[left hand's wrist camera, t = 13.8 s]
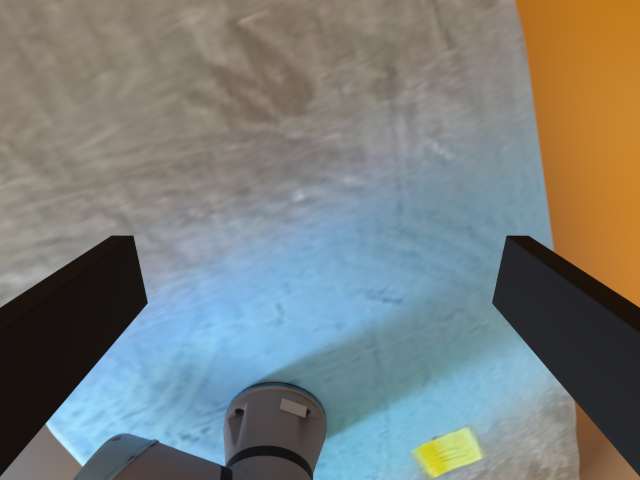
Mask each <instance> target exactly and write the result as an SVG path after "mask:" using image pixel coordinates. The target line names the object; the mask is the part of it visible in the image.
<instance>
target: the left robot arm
mask: <svg viewBox="0 0 640 480" xmlns="http://www.w3.org/2000/svg"><path fill="white" fill-rule="evenodd" d="M147 304H148V302H147V297H146V292H145V288H144V283H143V278H142V274H141V269H140V264H139V260H138V255H137V250H136V246H135V241H134V236H110V237H109V238H107V239H106V240H104V241H103V242H101V243H100V244H98V245H96V246H95V247H93V248H92V249H90V250H89V251H87V252H86V253H84V254H83V255H81V256H79V257H78V258H76V259H75V260H73V261H72V262H70V263H69V264H67V265H66V266H64V267H62V268H61V269H59V270H58V271H56V272H55V273H53V274H52V275H50V276H49V277H47V278H45V279H44V280H42V281H41V282H39V283H38V284H36V285H35V286H33V287H32V288H30V289H28V290H27V291H25V292H24V293H22V294H21V295H19V296H18V297H16V298H15V299H13V300H11V301H10V302H8V303H7V304H5V305H4V306H2V307H1V308H0V476H1V475H2V474H3V473H4V472H5V470H6V469H7V468H8V467H9V466H10V464H11V463H12V462H13V461H14V460H15V459H16V457H17V456H18V455H19V454H20V453H21V452H22V450H23V449H24V448H25V447H26V446H27V445H28V443H29V442H30V441H31V440H32V439H33V438H34V436H35V435H36V434H37V433H38V432H39V430H40V429H41V428H42V427H43V426H44V425H45V423H46V422H47V421H48V420H49V419H50V418H51V416H52V415H53V414H54V413H55V412H56V410H57V409H58V408H59V407H60V406H61V405H62V403H63V402H64V401H65V400H66V399H67V398H68V396H69V395H70V394H71V393H72V392H73V391H74V389H75V388H76V387H77V386H78V385H79V383H80V382H81V381H82V380H83V379H84V378H85V376H86V375H87V374H88V373H89V372H90V371H91V369H92V368H93V367H94V366H95V365H96V363H97V362H98V361H99V360H100V359H101V358H102V356H103V355H104V354H105V353H106V352H107V351H108V349H109V348H110V347H111V346H112V345H113V344H114V342H115V341H116V340H117V339H118V338H119V336H120V335H121V334H122V333H123V332H124V331H125V329H126V328H127V327H128V326H129V325H130V324H131V322H132V321H133V320H134V319H135V318H136V316H137V315H138V314H139V313H140V312H141V311H142V309H143V308H144V307H145V306H146V305H147ZM492 304H493V305H494V306H495V307H496V308H497V309H498V311H499V312H500V313H501V314H502V315H503V316H504V318H505V319H506V320H507V321H508V322H509V324H510V325H511V326H512V327H513V328H514V329H515V331H516V332H517V333H518V334H519V335H520V336H521V338H522V339H523V340H524V341H525V342H526V344H527V345H528V346H529V347H530V348H531V349H532V351H533V352H534V353H535V354H536V355H537V356H538V358H539V359H540V360H541V361H542V362H543V363H544V365H545V366H546V367H547V368H548V369H549V371H550V372H551V373H552V374H553V375H554V376H555V378H556V379H557V380H558V381H559V382H560V383H561V385H562V386H563V387H564V388H565V389H566V391H567V392H568V393H569V394H570V395H571V396H572V398H573V399H574V400H575V401H576V402H577V403H578V405H579V406H580V407H581V408H582V409H583V410H584V412H585V413H586V414H587V415H588V416H589V418H590V419H591V420H592V421H593V422H594V423H595V425H596V426H597V427H598V428H599V429H600V430H601V432H602V433H603V434H604V435H605V436H606V438H607V439H608V440H609V441H610V442H611V443H612V445H613V446H614V447H615V448H616V449H617V450H618V452H619V453H620V454H621V455H622V456H623V457H624V459H625V460H626V461H627V462H628V463H629V465H630V466H631V467H632V468H633V469H634V470H635V472H636V473H637V474H638V475H639V476H640V308H639V307H638V306H636V305H635V304H633V303H632V302H630V301H629V300H627V299H625V298H624V297H622V296H621V295H619V294H618V293H616V292H615V291H613V290H611V289H610V288H608V287H607V286H605V285H604V284H602V283H601V282H599V281H598V280H596V279H594V278H593V277H591V276H590V275H588V274H587V273H585V272H584V271H582V270H581V269H579V268H577V267H576V266H574V265H573V264H571V263H570V262H568V261H567V260H565V259H564V258H562V257H561V256H559V255H557V254H556V253H554V252H553V251H551V250H550V249H548V248H547V247H545V246H544V245H542V244H540V243H539V242H537V241H536V240H534V239H533V238H531V237H530V236H506V241H505V246H504V250H503V255H502V260H501V264H500V269H499V274H498V278H497V283H496V288H495V292H494V297H493V302H492ZM325 434H326V416H325V412H324V410H323V408H322V406H321V404H320V403H319V402H318V400H317V399H316V398H315V397H313V396H312V395H311V394H310V393H308V392H306V391H305V390H303V389H301V388H298V387H296V386H292V385H289V384H283V383H265V384H259V385H255V386H252V387H250V388H248V389H246V390H244V391H242V392H241V393H239V394H238V395H237V396H236V397H235V398H234V399H233V400H232V402H231V403H230V405H229V407H228V410H227V413H226V416H225V420H224V446H225V461H226V465H225V467H224V466H222V465H220V464H217V463H214V462H211V461H208V460H205V459H203V458H200V457H197V456H194V455H191V454H188V453H186V452H183V451H180V450H177V449H175V448H172V447H170V446H167V445H164V444H162V443H159V441H158V440H155V439H154V440H149V439H145V438H142V437H138V436H135V435H132V434H126V433H124V434H119V435H116V436H114V437H112V438H110V439H109V440H108V441H106V442H105V443H104V444H103V445H102V446H101V447H100V448H99V449H98V450H97V451H96V452H95V453H94V454H93V456H92V457H91V458H90V459H89V460H88V461H87V463H86V464H85V465H84V466H83V468H82V469H81V470H80V471H79V473H78V474H77V475H76V476H75V478H74V479H73V480H313V472H314V469H315V466H316V464H317V461H318V458H319V455H320V452H321V449H322V446H323V443H324V440H325Z"/></svg>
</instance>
